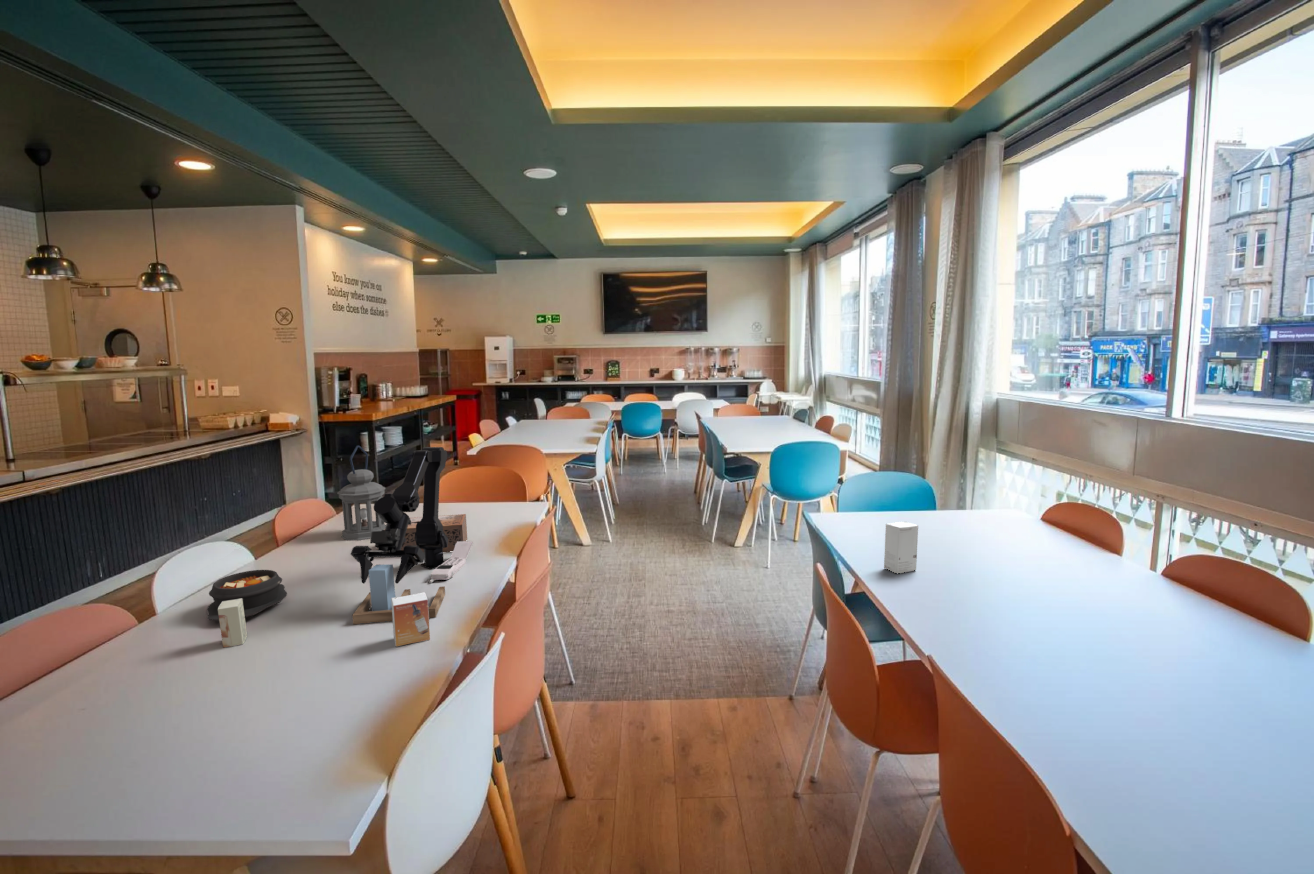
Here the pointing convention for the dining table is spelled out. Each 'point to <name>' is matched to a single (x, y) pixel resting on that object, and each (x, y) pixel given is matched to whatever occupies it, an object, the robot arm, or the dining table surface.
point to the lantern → (356, 494)
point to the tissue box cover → (451, 527)
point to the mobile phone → (452, 562)
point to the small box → (410, 619)
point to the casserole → (247, 591)
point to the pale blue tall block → (381, 587)
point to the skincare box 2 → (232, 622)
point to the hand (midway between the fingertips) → (379, 582)
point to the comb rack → (386, 615)
